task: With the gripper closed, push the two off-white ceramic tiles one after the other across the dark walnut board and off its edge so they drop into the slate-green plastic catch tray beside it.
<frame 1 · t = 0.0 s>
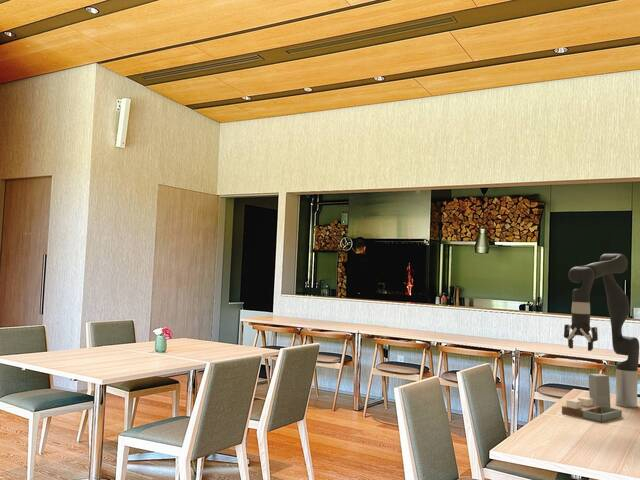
hand: (580, 349, 263), 29 cm above the table, fingers open, 8 cm apart
tile b: (573, 407, 266), point 3 cm above the table, touching walnut board
catch tray: (602, 417, 261), on the table
skincare box: (599, 408, 280), on the table
walnut board: (581, 413, 268), on the table
tile a: (585, 404, 272), point 3 cm above the table, touching walnut board
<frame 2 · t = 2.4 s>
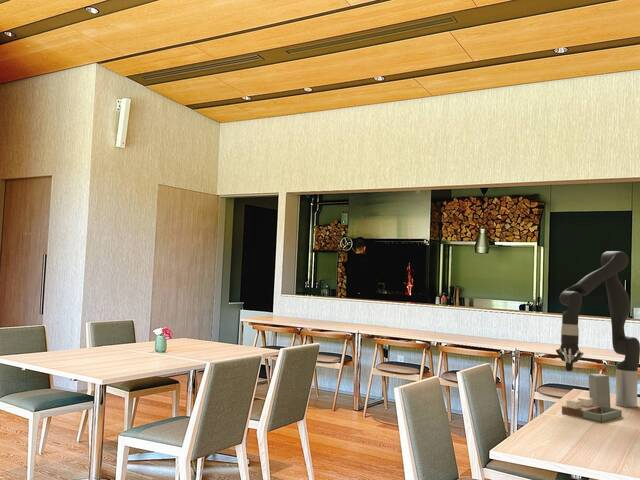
hand: (569, 371, 279), 17 cm above the table, fingers closed
nothing on the table moved.
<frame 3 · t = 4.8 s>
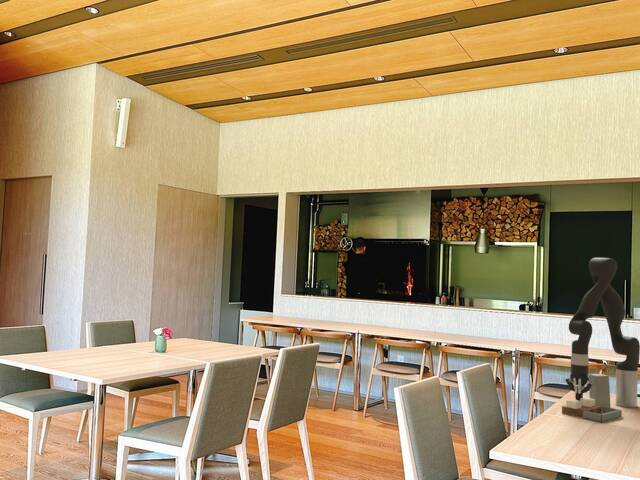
hand: (578, 401, 275), 4 cm above the table, fingers closed
tile a: (587, 405, 272), point 3 cm above the table, touching gripper, walnut board
everything else where it was.
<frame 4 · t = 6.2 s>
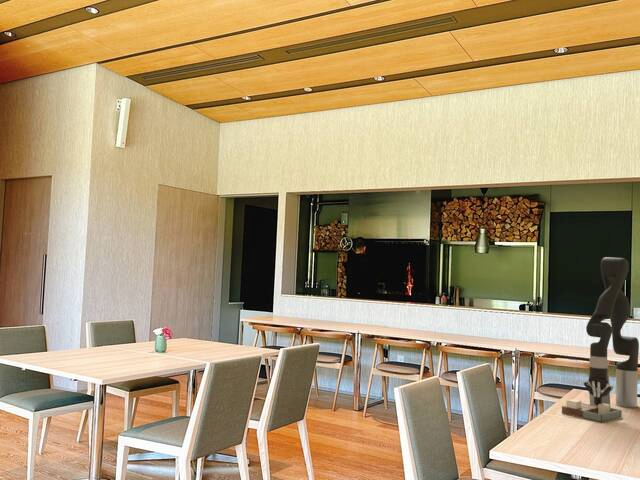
hand: (597, 405, 268), 4 cm above the table, fingers closed
tile a: (600, 408, 267), point 3 cm above the table, tilted 90°, touching catch tray, gripper
everything else where it was.
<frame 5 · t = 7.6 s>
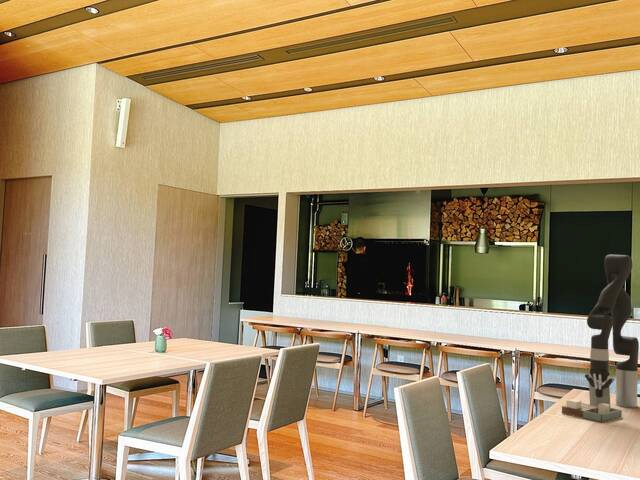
hand: (599, 397, 268), 8 cm above the table, fingers closed
tile a: (600, 408, 267), point 3 cm above the table, tilted 90°, touching catch tray
everything else where it was.
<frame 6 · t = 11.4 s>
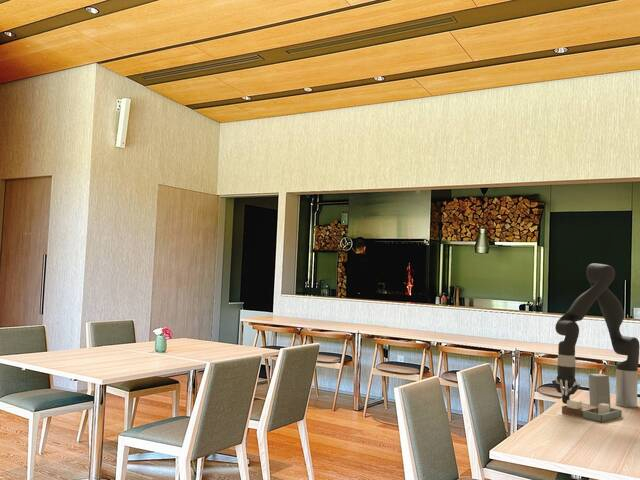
hand: (565, 403, 269), 4 cm above the table, fingers closed
tile b: (574, 407, 266), point 3 cm above the table, touching gripper, walnut board
everything else where it was.
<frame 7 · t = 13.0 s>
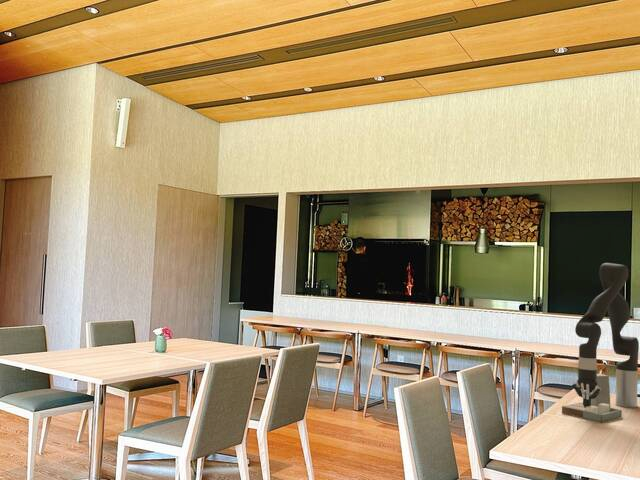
hand: (586, 407, 262), 4 cm above the table, fingers closed
tile b: (588, 411, 260), point 3 cm above the table, tilted 91°, touching catch tray, gripper
everything else where it was.
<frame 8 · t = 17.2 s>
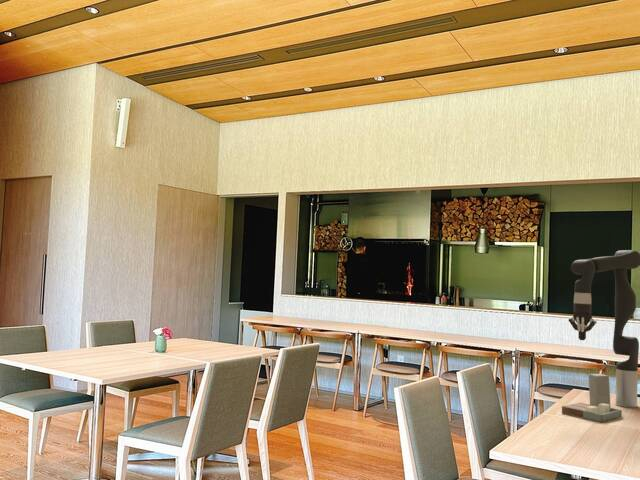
hand: (582, 340, 278), 32 cm above the table, fingers closed
tile b: (588, 411, 260), point 3 cm above the table, tilted 90°, touching catch tray
everything else where it was.
at the end: tile a inside the target area (5.8 cm from its centre), point 2.7 cm above the table; tile b inside the target area (6.8 cm from its centre), point 2.7 cm above the table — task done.
